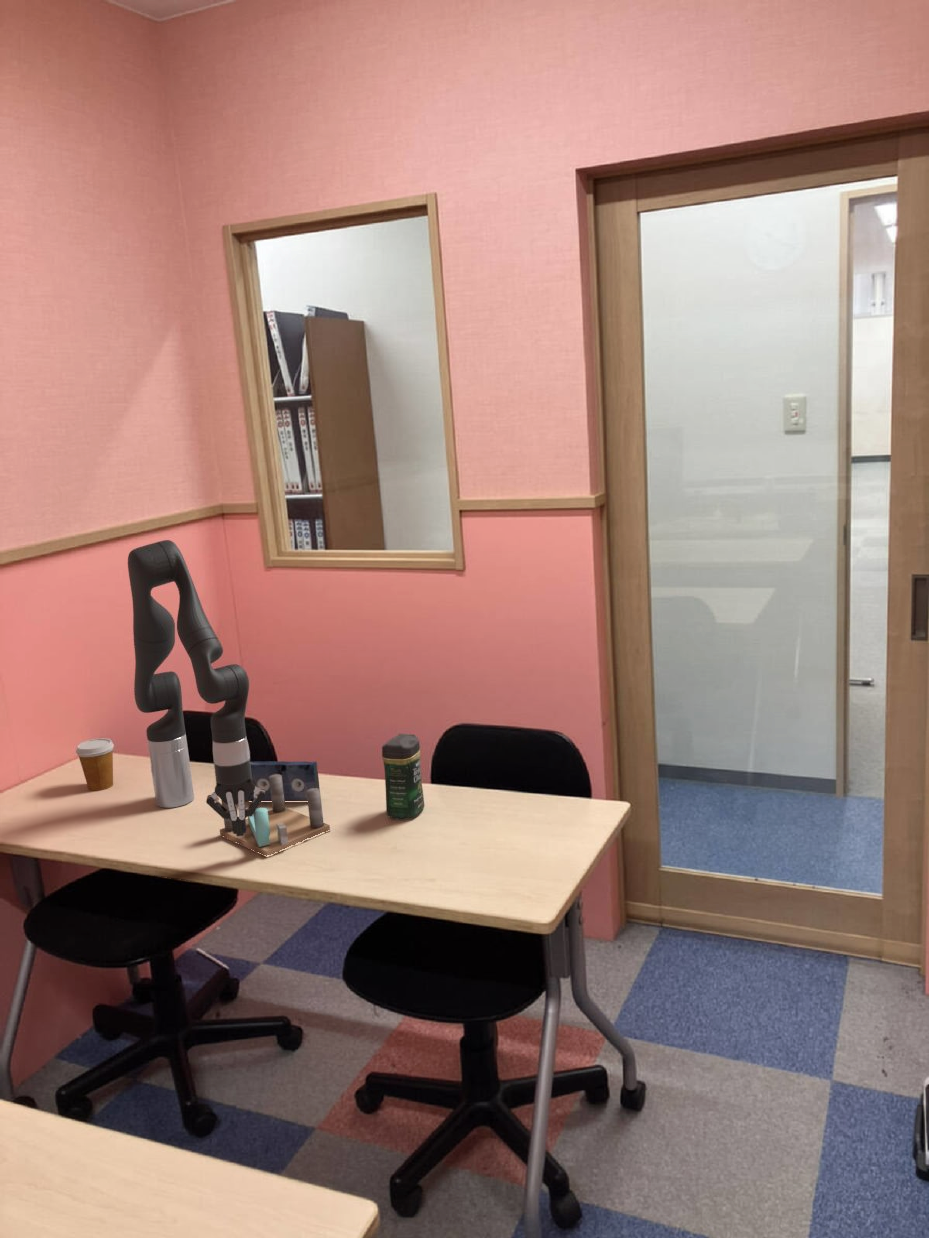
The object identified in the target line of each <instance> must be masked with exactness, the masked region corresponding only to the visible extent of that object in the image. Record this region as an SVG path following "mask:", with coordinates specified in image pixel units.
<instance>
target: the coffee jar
mask: <svg viewBox="0 0 929 1238" xmlns="http://www.w3.org/2000/svg"><path fill="white" fill-rule="evenodd" d="M381 756H382V757H381V758H382V762H383V768H384V783H385V807H386V815H387V817H389V818H392V819H394V820H399V821H403V820H409V819H414V818H416V817H417V816H418V815H419V814H421V813H422V811H423V810H424V808H425V797H424V789H423V782H422V773H421V772H422V771H421V770H422V769H421V747H420V740H419V738H418V737H417V736H416V735H415V734H410V733H398V734H397V735H396V736H393V737H392V738H390V739H388V740H387V741H386V742H385V743H384V744H383V745H382V747H381Z"/></svg>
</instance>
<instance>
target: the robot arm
mask: <svg viewBox="0 0 929 1238" xmlns="http://www.w3.org/2000/svg"><path fill="white" fill-rule="evenodd" d="M127 570H128V578H129V585H130V593H131V598H132V600H131V601H132V611H133V616H132V619H133V620H132V621H133V622H132V625H133V626H132V628H133V629H132V630H133V633H132V634H133V645H134V646H133V647H134V656H135V657H134V661H135V665H134V666H135V669H134V681H133V682H134V684H133V685H134V686H133V687H134V688H133V689H134V691H133V692H134V694H133V695H134V699H135V701H134V702H135V704H136V707H137V709H138V710H139V711H140V712H141V713H143V714H144V713H145V714H146V713H147V714H150V713H157V712H162V711H167V712H166V713H165V714H164V715H163V716H162V717H161V718H159V719H157V720H156V721H154V722H153V723H150V725H148V726H147V728H146V730H145V731H146V739H147V746H148V752H149V760H150V770H151V776H152V777H151V778H152V785H153V791H154V796H155V797H154V798H155V801H156V805H157V807H160V808H164V809H165V808H169V809H170V808H177V807H181V806H185V805H187V804H189V803H191V802H192V801H193V800H194V799H195V793H194V786H193V779H192V771H191V762H190V755H189V748H188V740H187V735H186V727H185V719H184V709H183V697H182V695H183V694H182V685H181V681H180V677H179V676H178V674H177V673H176V672H175V671H165V672H157V673H155V672H156V671H157V670H158V668H159V667H160V666H161V665H162V664H163V663H164V662H165V661H166V660H167V658H168V657H169V656H170V655H171V652H172V651H173V649H174V646H175V643H176V631H177V635H178V637H179V638H178V639H180V642H181V644H182V646H183V648H184V650H185V651H186V653H187V655H188V657H189V659H190V663H191V667H192V669H193V670H192V671H193V673H194V678H195V683H196V689H197V693H198V695H199V696H200V698H201V699H202V700H203V701H205V702H206V703H207V704H211V705H212V704H213V705H214V704H215V705H216V704H218V703H223V702H224V704H223V706H222V707H221V708H220V709H218V710H217V711H215V712H214V713H213V714H212V715H211V716H210V728H211V739H212V756H213V757H212V758H213V767H214V774H215V783H216V784H215V787H214V791H213V792H212V793H211V794H208V795H207V796H206V801H205V802H206V804H207V805H208V806H209V807H210V808H212V810H213V811H215V813H216V814H218V816H220V817H221V818H222V819H223V820H224V819H230V820H231V821H232V828H233V833H234V834H236V835H237V836H244V833H246V828H247V827H246V819H247V818H248V816H252V815H253V813H254V812H255V810H256V809H257V808H259V805H260V804H261V803H262V802H261V801H262V800H263V798H264V797H265V790H264V789H259V788H258V787H256V786H255V782H254V781H253V779H252V772H251V763H250V761H251V751H250V747H249V746H250V745H249V742H248V739H247V731H246V730H247V729H246V722H245V721H246V720H245V716H246V709H247V703H248V698H249V691H250V680H249V679H250V678H249V676H248V674H247V673H248V672H247V671H246V670H245V669H244V668H243V666H241V665H239V664H235V663H234V664H232V663H231V664H228V665H224V666H221V667H217V668H213V666H212V664H213V663H215V662H216V661H218V660H219V659H221V657H222V655H223V653H224V648H223V645H222V643H221V641H220V640H219V637H218V636H217V634H216V632H215V631H214V629H213V627H212V625H211V624H210V622H209V619H208V617H207V615H206V613H205V610H204V608H203V605H202V604H201V603H202V602H201V600H200V597H199V595H198V592H197V590H196V587H195V584H194V582H193V581H194V580H193V579H192V576H191V574H190V571H189V569H188V566H187V563H186V560H185V558H184V556H183V553H182V552H181V550H180V549H179V547H178V546H177V544H176V543H175V542H174V541H172V540H170V539H166V540H165V539H164V540H160V541H156V542H153V543H149V544H146V545H143V546H138V547H135V548H133V549H131V550H130V551H129V553H128V555H127ZM173 582H174V583H175V585H176V587H177V589H178V590H177V591H178V594H179V604H178V611H177V618H176V623H175V619H174V617H173V615H172V613H170V611H168V609H166V607H164V606H163V605H162V604H160V603H159V602H158V600H156V599H155V598H154V597H153V596H152V594H151V593H152V590H153V589H155V588H157V587H160V586H163V585H167V584H170V583H173ZM253 791H254V798H255V799H254V800H253V801H252V802H250V804H249V806H248V807H247V808H246V803H247V802H248V799H249V798H250V796H251V794H252V793H253ZM219 799H220V800H222V801H223V802H224V803H226V804H227V805H228V807H229V811H228V810H227V809H226V808H225V807H224V806H223V805H222V801H221V802H220V801H219ZM237 805H238V809H237Z"/></svg>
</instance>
